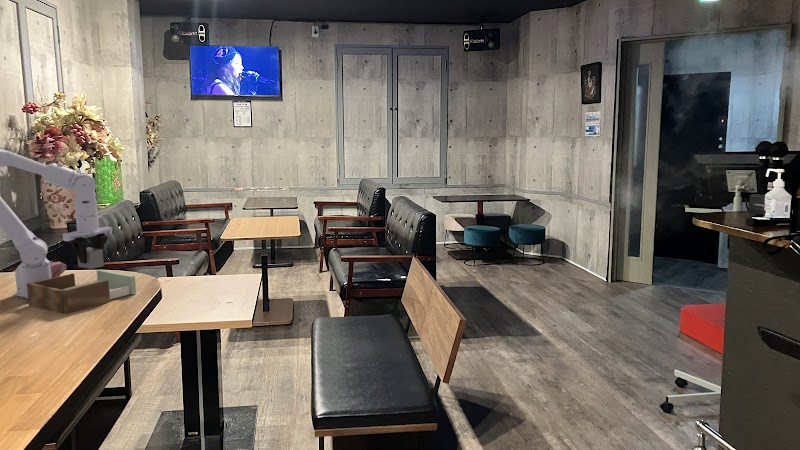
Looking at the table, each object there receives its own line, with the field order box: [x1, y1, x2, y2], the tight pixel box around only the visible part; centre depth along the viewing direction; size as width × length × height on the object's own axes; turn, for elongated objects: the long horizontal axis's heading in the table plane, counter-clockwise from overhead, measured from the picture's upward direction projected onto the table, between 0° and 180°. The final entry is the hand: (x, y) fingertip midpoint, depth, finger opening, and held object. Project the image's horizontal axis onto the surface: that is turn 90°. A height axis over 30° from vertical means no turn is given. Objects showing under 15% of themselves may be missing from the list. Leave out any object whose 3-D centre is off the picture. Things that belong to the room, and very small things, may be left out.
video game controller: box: [50, 261, 68, 278], centre depth 196 cm, size 10×5×7 cm, turn 169°
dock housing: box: [27, 273, 111, 315], centre depth 172 cm, size 16×13×6 cm
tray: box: [61, 269, 137, 300], centre depth 179 cm, size 15×14×5 cm
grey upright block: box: [76, 246, 105, 270], centre depth 185 cm, size 4×6×5 cm
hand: (90, 261), depth 185 cm, fingers closed on grey upright block, 4 cm apart
